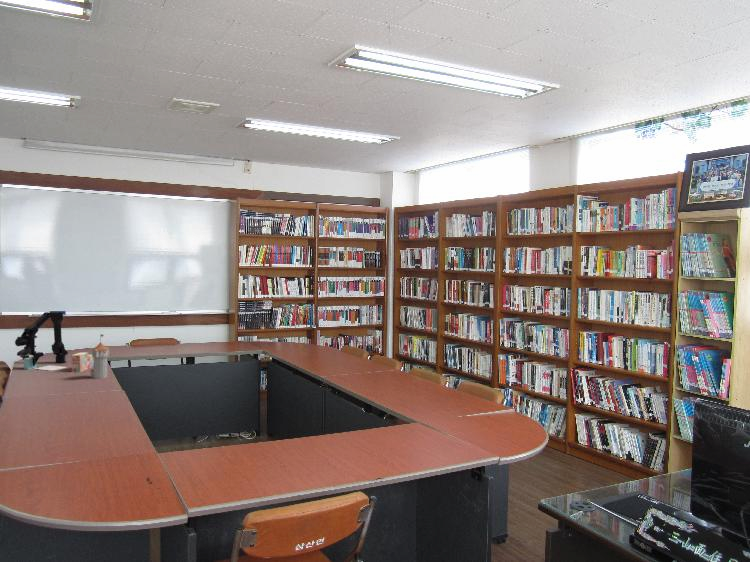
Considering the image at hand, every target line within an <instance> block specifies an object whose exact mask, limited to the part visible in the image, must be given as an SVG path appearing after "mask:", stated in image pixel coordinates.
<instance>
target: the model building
mask: <svg viewBox="0 0 750 562" xmlns="http://www.w3.org/2000/svg"><path fill="white" fill-rule="evenodd" d="M104 336H105V334H100V339H99V340H100V342H99V343H98V344H97V345H96V346H95V347H93V348H92V350H91V355H92V357H93V360H94V367H93V368H92V369H91V370H89V372H90V378H93V379H106V378H108V357H109V355H110V347H108V346H105V345H104V344H103V343H102V341H101V339H102V338H103V337H104Z"/></svg>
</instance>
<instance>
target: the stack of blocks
mask: <svg viewBox="0 0 750 562" xmlns="http://www.w3.org/2000/svg"><path fill="white" fill-rule="evenodd" d="M91 368H94V360H93V357H92V354H89V352H77V353H75V354H72V355H71V372H72V373H81V372H83V371H86V370H88V369H91Z"/></svg>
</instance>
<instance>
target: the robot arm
mask: <svg viewBox="0 0 750 562" xmlns="http://www.w3.org/2000/svg"><path fill="white" fill-rule="evenodd" d="M49 319H50V321H51V322H52V323H53V337H54V338H53V339H54V342H53V344H51V351H52V352H53V356H55V361H54V364H65V363H68V361H66V355H68V353H69V351H68V350H67V349H66V348H65V345H64V343H63V340H62V322H63V320H64V314H63V313H62V312H61V311H52V312H48V311H47V312H43V314H42V315H41V316H40V317H39V318H38V319H36V320H35V322H33V323H32V324H30V325H28V326H26V327H25V328H24V330H23V332H22V334H21V335H20V336H17V338H15V340H14V345H15V346H16V347H23V346H24V347H23V349H21V350H18V351H17V352H16V356H17V357H18V356H19V357H20V358H22V360H23V361H24V358H28V357H31V358H32V359H33V366H35V365H36V366H37V363H38V361H39V359H40V358H41V357H44V356H45V355H44V352H42V351H37V350H36V348H37V345H35V344H36V342H35V341H36V339H38V336H37V335H36V334H37V333H39V329H40V327H42V326H43V324H45V323H46V322H47V321H48V320H49Z"/></svg>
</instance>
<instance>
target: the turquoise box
mask: <svg viewBox="0 0 750 562" xmlns="http://www.w3.org/2000/svg"><path fill="white" fill-rule="evenodd" d="M31 357H32V356H29V357H28V358H24V360H23V369H24V370H28V369H29V370H33V369H32V368H34V369H35V368H37V364H36V365H35V366H33V359H32V358H31Z"/></svg>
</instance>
